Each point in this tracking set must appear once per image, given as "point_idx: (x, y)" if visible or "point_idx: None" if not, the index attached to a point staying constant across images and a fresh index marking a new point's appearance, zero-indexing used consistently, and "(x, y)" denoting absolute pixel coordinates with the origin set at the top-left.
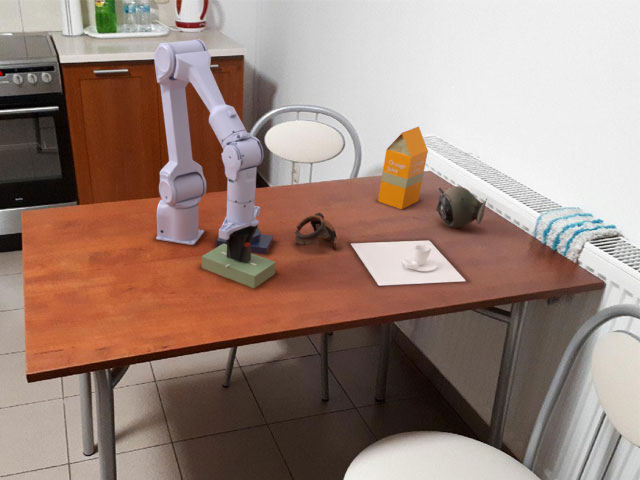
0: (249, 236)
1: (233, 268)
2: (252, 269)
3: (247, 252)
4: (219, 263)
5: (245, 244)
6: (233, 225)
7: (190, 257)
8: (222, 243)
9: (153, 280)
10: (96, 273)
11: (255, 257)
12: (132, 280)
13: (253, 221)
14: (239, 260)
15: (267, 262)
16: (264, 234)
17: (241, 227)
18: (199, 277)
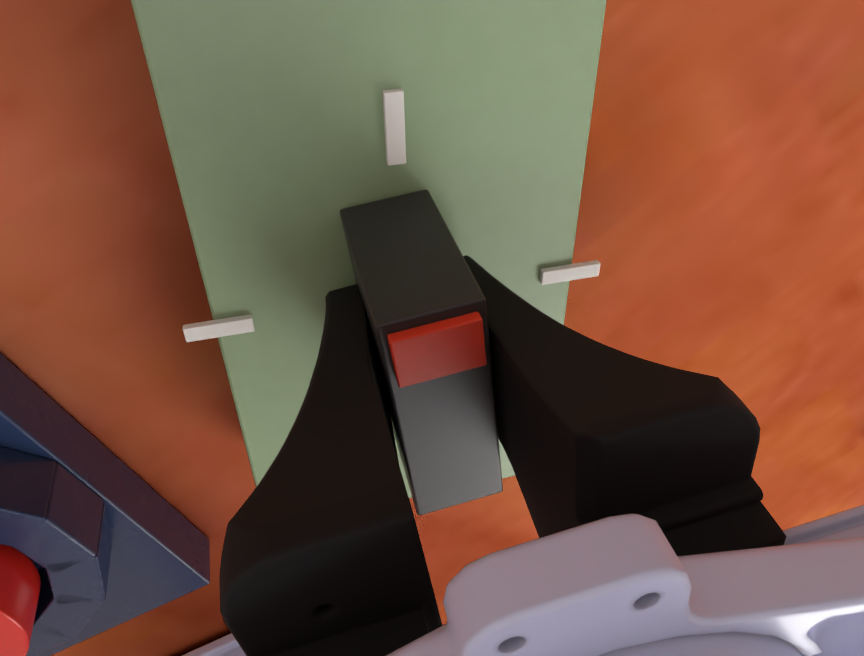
0: (388, 432)
1: (578, 207)
2: (498, 55)
3: (460, 257)
4: None
5: (462, 354)
6: (823, 643)
7: (439, 512)
8: (183, 546)
9: (761, 433)
10: None
11: (246, 217)
12: (797, 476)
13: (604, 638)
14: (469, 257)
15: (228, 35)
16: None
17: (848, 564)
18: (619, 329)
